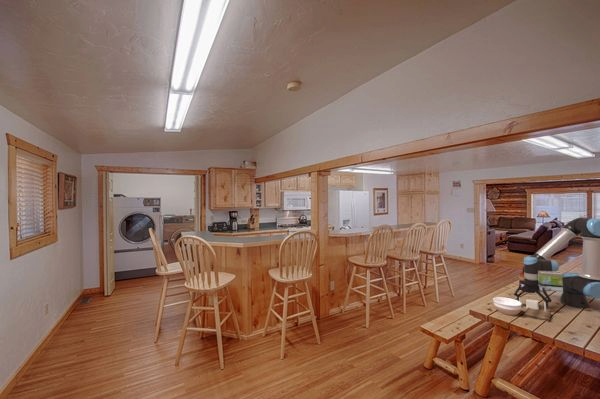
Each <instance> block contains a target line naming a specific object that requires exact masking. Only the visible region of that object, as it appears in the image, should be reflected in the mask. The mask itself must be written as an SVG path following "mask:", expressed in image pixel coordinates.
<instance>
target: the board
mask: <svg viewBox="0 0 600 399" xmlns="http://www.w3.org/2000/svg"><path fill="white" fill-rule="evenodd" d="M524 317H525V318H528V319H529V318H530V319H534V320H538V319H539V321H542V320H545V321H544V322H546V321H548V322H547V323H549V322H550V321H551V318H550V317H552V312H551V311H547V310H546V311H544V309H543V310H542V309H539V310H538V309H533V308H527V309H526V310H525V312H524Z"/></svg>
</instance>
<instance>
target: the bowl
mask: <svg viewBox="0 0 600 399" xmlns="http://www.w3.org/2000/svg"><path fill="white" fill-rule="evenodd" d="M492 300H493V305H494V307H495V308H494V309H496V310H497V312H498V313H500V314H502V315H506V316H511V317H512V316H514V317H515V316H517V315H518V314H519V313H520V312H521V311H522V305H523V303H522V301H521V302H520V301H517V299H514V298H509V297H503V296H501V297H500V296H497V297H496V296H495V297H493V298H492Z"/></svg>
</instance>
